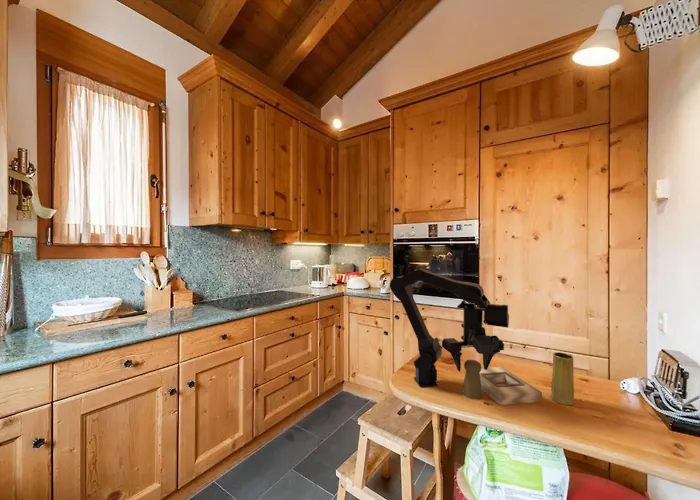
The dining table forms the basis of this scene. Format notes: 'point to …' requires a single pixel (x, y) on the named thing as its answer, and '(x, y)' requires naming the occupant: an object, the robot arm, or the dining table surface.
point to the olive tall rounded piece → (472, 380)
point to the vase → (562, 379)
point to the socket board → (507, 387)
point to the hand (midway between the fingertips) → (472, 370)
